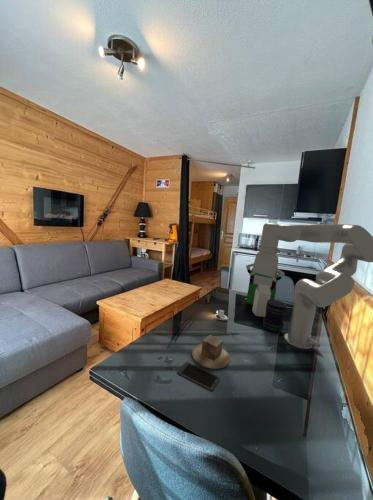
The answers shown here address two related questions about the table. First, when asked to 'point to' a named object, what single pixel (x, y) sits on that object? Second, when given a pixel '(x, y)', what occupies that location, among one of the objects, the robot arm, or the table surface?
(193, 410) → the table surface
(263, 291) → the milk carton
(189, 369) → the cell phone
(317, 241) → the robot arm
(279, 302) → the storage jar
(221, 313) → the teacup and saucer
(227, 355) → the plate
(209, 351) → the walnut cube
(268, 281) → the hardback book
